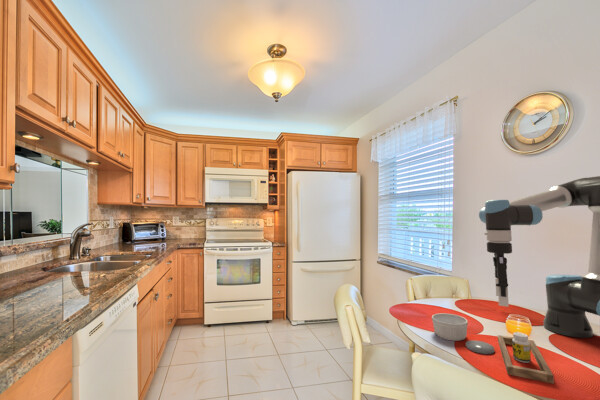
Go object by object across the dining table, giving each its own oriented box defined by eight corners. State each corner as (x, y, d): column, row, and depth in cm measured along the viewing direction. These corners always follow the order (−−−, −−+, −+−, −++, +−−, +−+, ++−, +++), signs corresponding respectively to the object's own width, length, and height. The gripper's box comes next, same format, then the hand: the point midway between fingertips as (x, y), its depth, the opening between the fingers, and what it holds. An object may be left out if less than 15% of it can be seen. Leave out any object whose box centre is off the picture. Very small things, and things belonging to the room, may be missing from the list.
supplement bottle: (509, 356, 99) (508, 331, 99) (522, 355, 99) (520, 331, 100) (521, 363, 94) (519, 337, 94) (534, 362, 94) (533, 336, 95)
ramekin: (425, 332, 120) (424, 315, 121) (447, 327, 126) (446, 311, 126) (453, 345, 108) (452, 326, 109) (476, 338, 113) (475, 321, 114)
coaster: (493, 345, 107) (493, 343, 107) (495, 356, 99) (495, 353, 99) (465, 341, 111) (465, 338, 111) (466, 350, 103) (465, 348, 103)
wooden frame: (533, 347, 105) (533, 340, 105) (554, 383, 82) (553, 375, 83) (497, 341, 110) (497, 335, 111) (507, 374, 88) (507, 366, 88)
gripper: (485, 238, 116) (488, 291, 115) (488, 244, 95) (491, 308, 94) (507, 239, 113) (510, 293, 111) (515, 245, 91) (519, 312, 90)
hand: (502, 300), depth 103 cm, fingers open, 13 cm apart
